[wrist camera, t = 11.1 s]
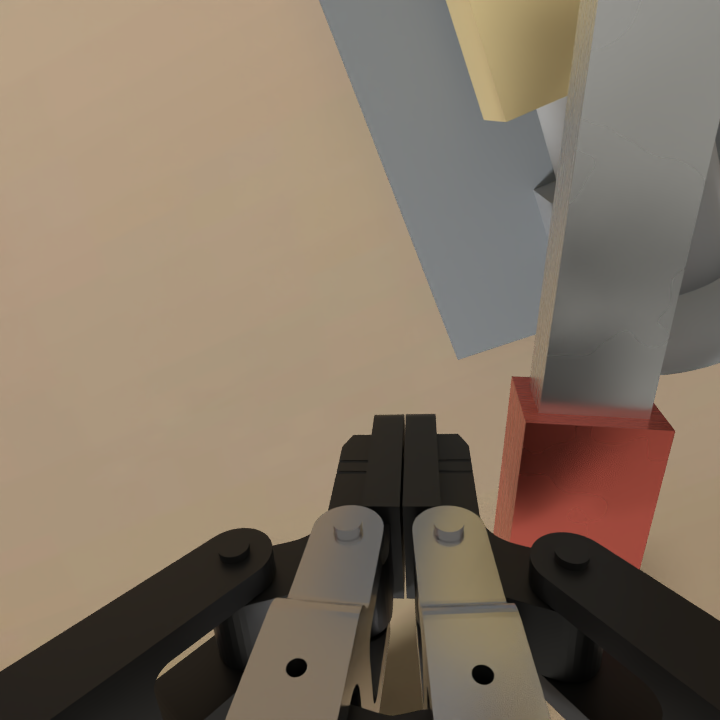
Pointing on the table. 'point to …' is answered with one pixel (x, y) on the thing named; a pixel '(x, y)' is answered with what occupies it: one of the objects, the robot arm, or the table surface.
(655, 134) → the lever
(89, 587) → the table surface
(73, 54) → the table surface
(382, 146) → the valve stand
